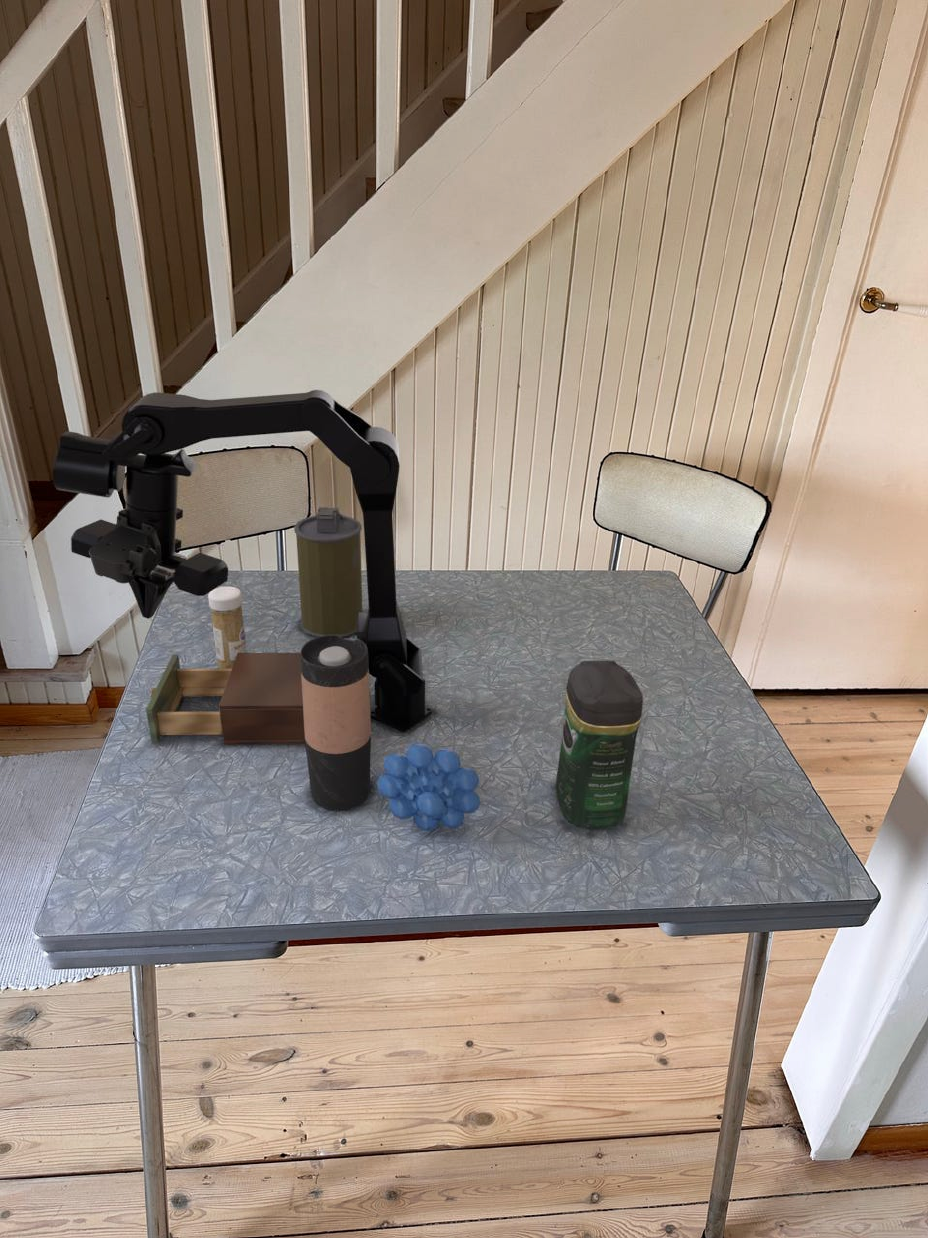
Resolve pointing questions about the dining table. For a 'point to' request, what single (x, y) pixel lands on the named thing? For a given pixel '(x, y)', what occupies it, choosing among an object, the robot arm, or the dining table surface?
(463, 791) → the blue knobby toy
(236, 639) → the sprinkles bottle
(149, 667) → the dining table surface
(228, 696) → the drawer unit
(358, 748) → the travel mug
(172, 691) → the drawer
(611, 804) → the coffee jar
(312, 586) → the canister
